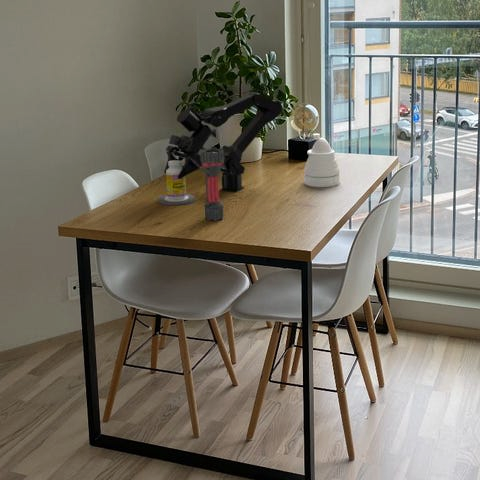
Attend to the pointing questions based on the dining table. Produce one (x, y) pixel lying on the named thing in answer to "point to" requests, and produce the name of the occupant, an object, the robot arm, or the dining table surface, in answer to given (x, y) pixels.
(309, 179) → the honey pot
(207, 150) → the flashlight
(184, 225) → the dining table surface
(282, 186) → the dining table surface
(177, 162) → the supplement bottle
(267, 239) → the dining table surface
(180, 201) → the dock pad
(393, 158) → the dining table surface
